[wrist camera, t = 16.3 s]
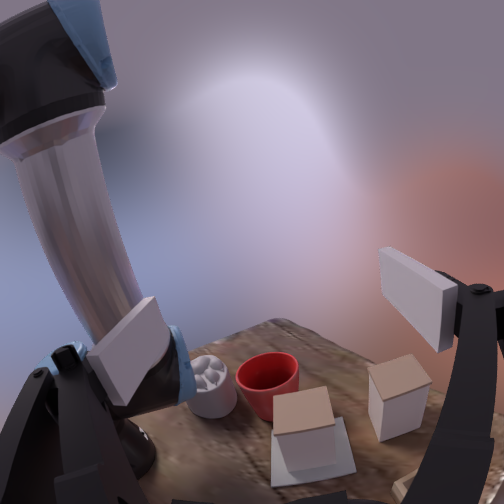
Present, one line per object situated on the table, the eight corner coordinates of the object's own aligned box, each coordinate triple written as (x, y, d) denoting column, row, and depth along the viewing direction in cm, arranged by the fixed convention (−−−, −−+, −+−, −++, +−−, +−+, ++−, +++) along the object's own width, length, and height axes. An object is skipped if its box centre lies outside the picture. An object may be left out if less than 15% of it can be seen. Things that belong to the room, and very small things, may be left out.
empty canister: (378, 443, 30) (383, 399, 28) (367, 412, 38) (367, 367, 35) (421, 427, 30) (432, 381, 27) (406, 399, 37) (411, 353, 35)
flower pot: (317, 399, 45) (311, 359, 43) (278, 437, 38) (266, 399, 36) (276, 382, 53) (266, 345, 51) (237, 413, 46) (222, 376, 44)
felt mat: (271, 487, 28) (270, 486, 28) (272, 431, 40) (271, 429, 39) (356, 472, 27) (356, 471, 27) (342, 418, 38) (342, 416, 38)
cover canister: (286, 473, 30) (273, 434, 28) (285, 438, 37) (273, 395, 35) (337, 464, 29) (335, 423, 27) (330, 429, 36) (326, 385, 34)
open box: (401, 512, 17) (407, 502, 16) (389, 493, 21) (394, 481, 20) (428, 497, 17) (436, 485, 17) (415, 479, 21) (421, 466, 20)
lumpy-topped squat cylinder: (221, 375, 59) (210, 345, 58) (248, 403, 48) (237, 371, 46) (181, 394, 55) (166, 364, 53) (201, 427, 43) (184, 395, 42)
